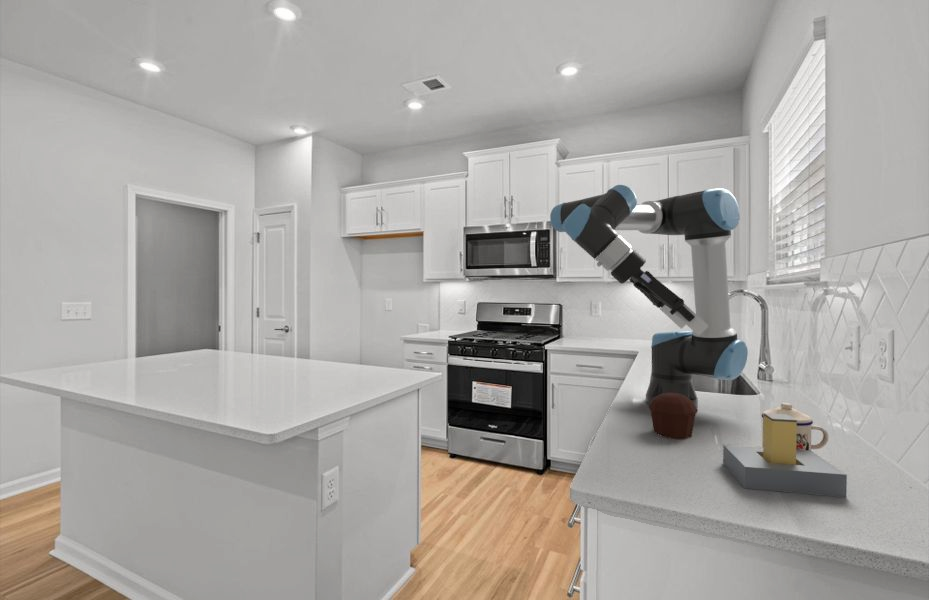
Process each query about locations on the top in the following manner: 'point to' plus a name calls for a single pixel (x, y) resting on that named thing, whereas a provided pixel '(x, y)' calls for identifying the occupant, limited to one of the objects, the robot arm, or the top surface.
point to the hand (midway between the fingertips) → (694, 327)
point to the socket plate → (784, 472)
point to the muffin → (673, 415)
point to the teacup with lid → (800, 427)
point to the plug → (779, 438)
